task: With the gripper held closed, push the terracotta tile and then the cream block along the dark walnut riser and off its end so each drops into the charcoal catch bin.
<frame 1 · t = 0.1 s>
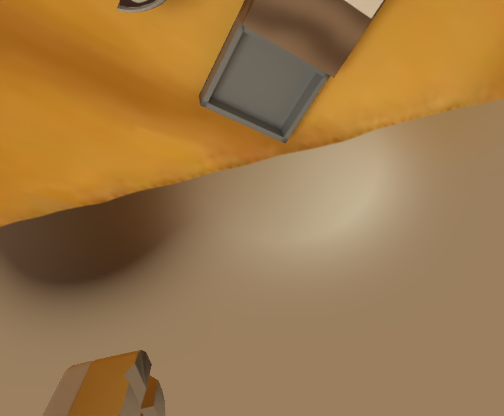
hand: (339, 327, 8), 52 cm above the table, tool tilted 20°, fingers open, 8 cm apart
catch bin: (261, 80, 58), on the table
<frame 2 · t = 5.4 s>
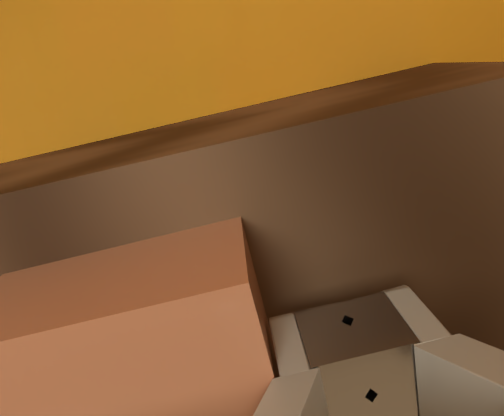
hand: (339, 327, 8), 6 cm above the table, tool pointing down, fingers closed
walnut riser: (200, 323, 14), on the table
terracotta tile: (159, 340, 9), point 5 cm above the table, touching gripper, walnut riser
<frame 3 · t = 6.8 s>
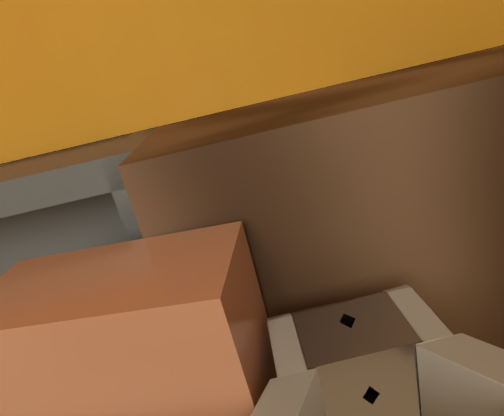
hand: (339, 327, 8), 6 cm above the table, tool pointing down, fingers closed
walnut riser: (458, 262, 14), on the table
terracotta tile: (162, 336, 9), point 5 cm above the table, tilted 10°, touching gripper, walnut riser
catch bin: (59, 355, 15), on the table
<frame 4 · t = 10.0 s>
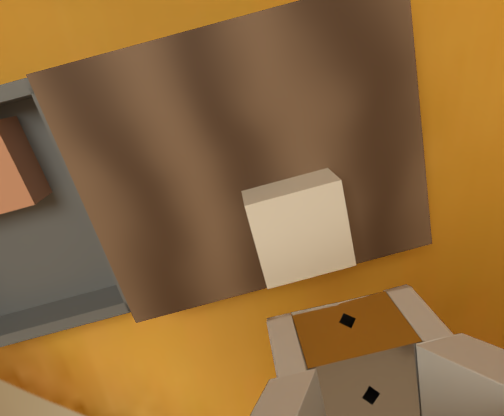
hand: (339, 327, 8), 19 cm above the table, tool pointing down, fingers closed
cream block: (293, 219, 22), point 5 cm above the table, touching walnut riser
walnut riser: (247, 151, 25), on the table
catch bin: (22, 212, 26), on the table
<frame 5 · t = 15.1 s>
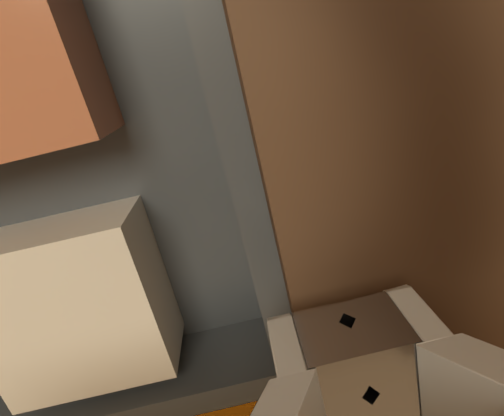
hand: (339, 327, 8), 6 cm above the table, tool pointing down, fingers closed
cream block: (61, 329, 10), point 3 cm above the table, tilted 180°, touching catch bin
catch bin: (54, 170, 12), on the table
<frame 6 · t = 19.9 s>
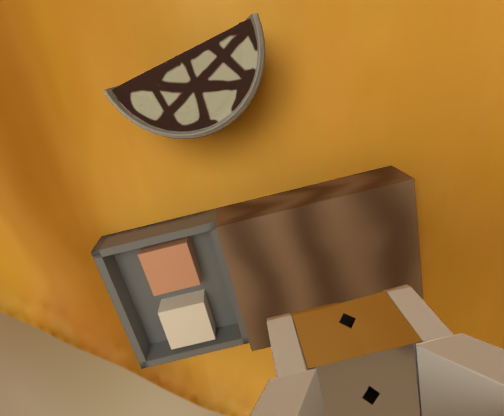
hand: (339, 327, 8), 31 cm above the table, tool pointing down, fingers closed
cream block: (187, 326, 41), point 3 cm above the table, tilted 180°, touching catch bin
walnut riser: (315, 248, 43), on the table
terracotta tile: (169, 270, 38), point 3 cm above the table, tilted 180°, touching catch bin
catch bin: (179, 281, 43), on the table
food container: (204, 87, 36), on the table
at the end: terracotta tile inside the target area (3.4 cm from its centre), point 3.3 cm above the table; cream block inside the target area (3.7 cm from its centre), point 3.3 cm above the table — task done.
